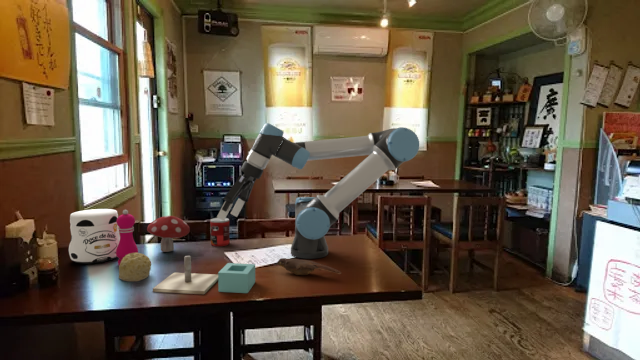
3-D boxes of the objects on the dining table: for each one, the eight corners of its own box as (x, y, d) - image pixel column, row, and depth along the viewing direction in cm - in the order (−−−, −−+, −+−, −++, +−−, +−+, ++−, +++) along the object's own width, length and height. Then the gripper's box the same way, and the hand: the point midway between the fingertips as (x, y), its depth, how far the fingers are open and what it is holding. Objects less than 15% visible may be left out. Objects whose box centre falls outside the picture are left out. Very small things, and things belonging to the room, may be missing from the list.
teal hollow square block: (255, 282, 127) (255, 264, 127) (247, 293, 118) (247, 273, 118) (228, 280, 128) (227, 263, 128) (218, 291, 119) (218, 272, 119)
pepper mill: (142, 261, 147) (140, 208, 144) (131, 267, 140) (129, 212, 137) (124, 260, 147) (121, 207, 145) (112, 266, 140) (109, 211, 138)
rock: (148, 281, 137) (139, 254, 139) (159, 272, 129) (149, 244, 131) (119, 291, 130) (110, 262, 132) (129, 282, 122) (119, 252, 124)
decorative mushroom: (193, 246, 167) (192, 211, 166) (186, 257, 152) (185, 219, 150) (154, 247, 165) (153, 211, 164) (142, 258, 150) (141, 219, 148)
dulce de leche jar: (100, 269, 138) (98, 218, 136) (57, 265, 141) (54, 216, 139) (132, 254, 155) (130, 209, 153) (93, 251, 158) (90, 207, 156)
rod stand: (220, 277, 131) (220, 251, 130) (204, 294, 117) (203, 265, 116) (174, 275, 132) (173, 249, 131) (152, 291, 119) (151, 262, 118)
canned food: (209, 242, 173) (209, 218, 172) (227, 241, 176) (227, 217, 175) (212, 247, 166) (211, 221, 165) (231, 245, 169) (230, 220, 168)
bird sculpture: (338, 283, 127) (339, 268, 127) (268, 274, 135) (268, 259, 135) (344, 276, 133) (344, 262, 133) (276, 268, 141) (276, 254, 141)
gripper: (255, 161, 153) (230, 209, 154) (234, 158, 128) (204, 215, 129) (272, 170, 152) (246, 218, 153) (254, 169, 127) (223, 226, 129)
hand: (227, 217), depth 141 cm, fingers open, 13 cm apart
